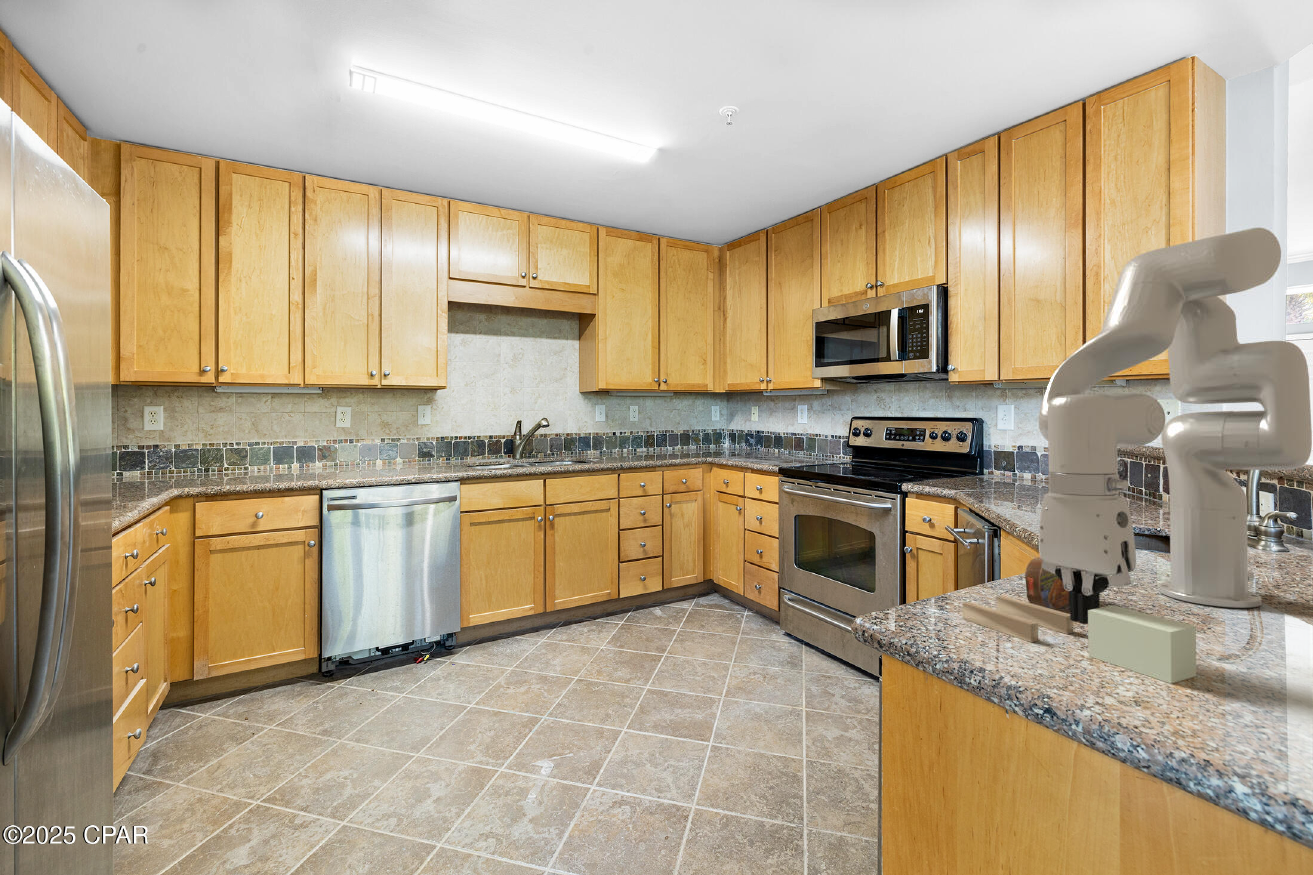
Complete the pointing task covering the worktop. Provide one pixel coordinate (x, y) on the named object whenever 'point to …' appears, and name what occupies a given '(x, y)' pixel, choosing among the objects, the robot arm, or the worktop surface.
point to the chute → (1017, 618)
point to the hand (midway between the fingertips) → (1084, 620)
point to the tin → (1044, 586)
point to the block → (1143, 643)
